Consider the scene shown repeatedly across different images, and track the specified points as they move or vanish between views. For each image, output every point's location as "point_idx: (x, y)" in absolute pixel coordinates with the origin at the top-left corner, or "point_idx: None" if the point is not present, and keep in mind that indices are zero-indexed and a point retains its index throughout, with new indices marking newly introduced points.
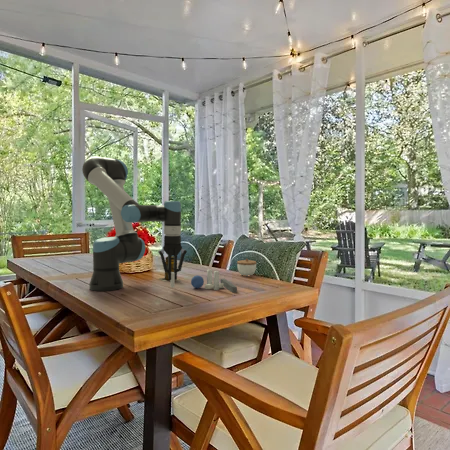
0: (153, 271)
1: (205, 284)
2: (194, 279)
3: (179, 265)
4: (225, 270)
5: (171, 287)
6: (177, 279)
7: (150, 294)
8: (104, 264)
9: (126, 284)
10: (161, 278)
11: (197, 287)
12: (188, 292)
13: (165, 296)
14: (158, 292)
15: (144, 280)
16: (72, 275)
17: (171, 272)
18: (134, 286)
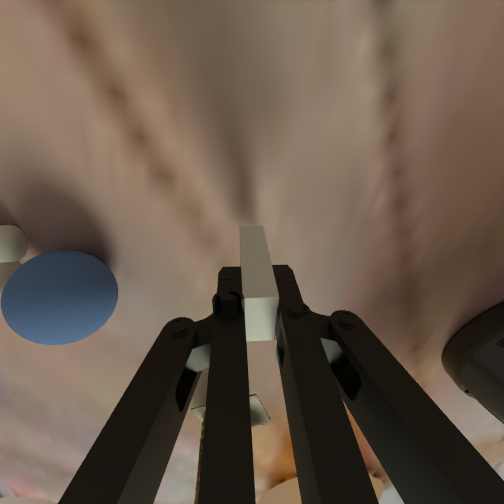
0: (266, 480)
1: (1, 256)
2: (70, 290)
3: (170, 385)
4: (12, 487)
5: (261, 226)
6: (198, 412)
7: (405, 170)
8: None
9: (413, 372)
10: (260, 423)
11: (78, 251)
12: (143, 166)
13: (332, 70)
14: (340, 212)
15: None
16: (493, 458)
17: (268, 329)
18: (400, 344)
